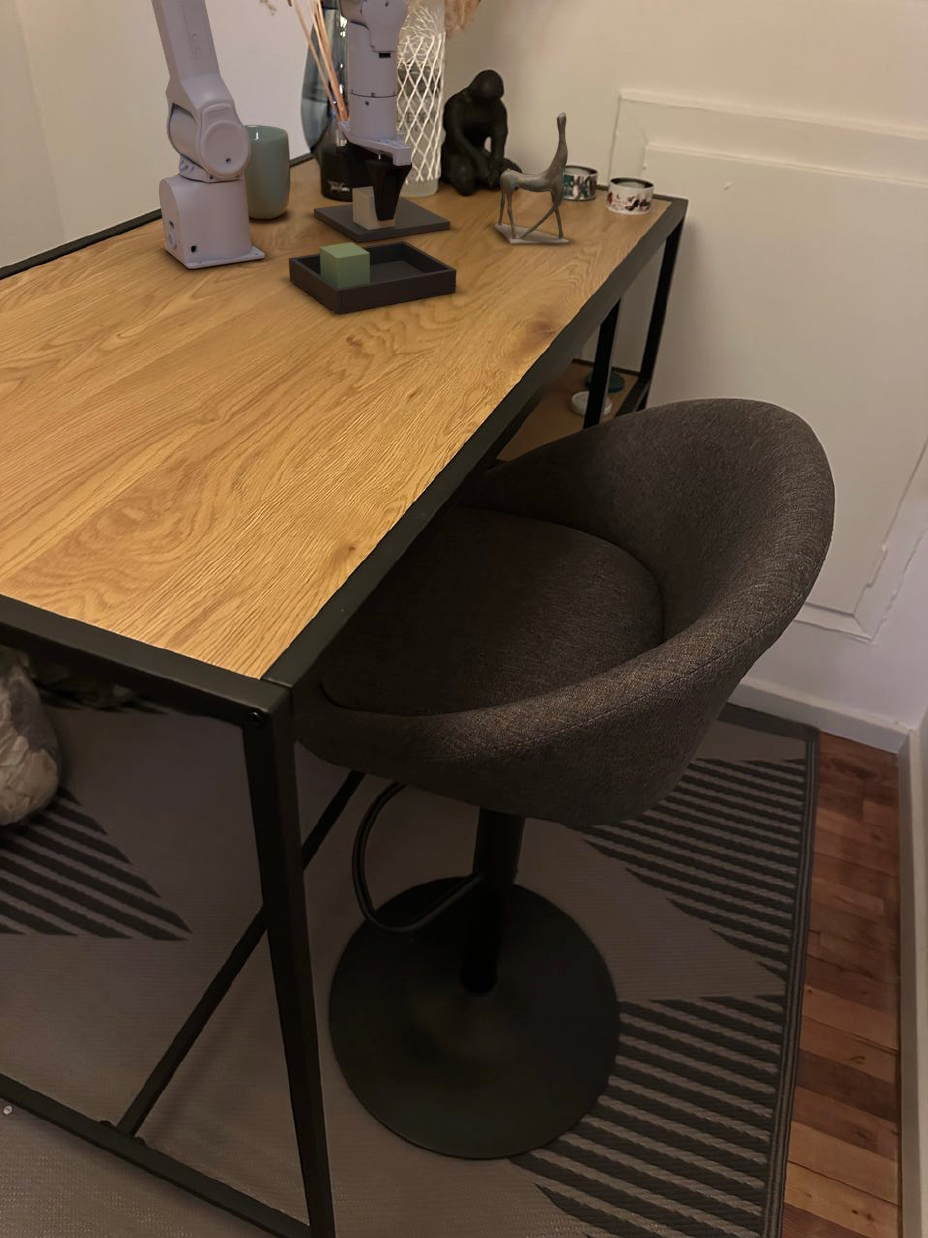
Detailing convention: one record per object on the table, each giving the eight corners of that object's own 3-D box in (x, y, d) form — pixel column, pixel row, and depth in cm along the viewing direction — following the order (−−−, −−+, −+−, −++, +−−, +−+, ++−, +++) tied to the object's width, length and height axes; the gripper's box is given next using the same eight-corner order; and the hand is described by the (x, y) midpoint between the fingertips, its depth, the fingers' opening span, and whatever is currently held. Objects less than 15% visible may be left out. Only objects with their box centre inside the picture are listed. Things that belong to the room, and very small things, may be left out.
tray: (337, 314, 96) (336, 290, 94) (289, 280, 103) (288, 257, 101) (455, 292, 103) (456, 269, 101) (403, 261, 110) (404, 240, 108)
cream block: (368, 230, 115) (368, 196, 113) (352, 221, 118) (352, 188, 115) (395, 226, 117) (395, 193, 114) (379, 217, 119) (379, 185, 117)
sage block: (338, 295, 99) (337, 257, 96) (321, 283, 101) (319, 246, 99) (370, 289, 101) (369, 252, 98) (352, 278, 103) (351, 241, 100)
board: (358, 242, 114) (357, 234, 113) (313, 216, 121) (313, 208, 121) (450, 228, 121) (450, 221, 120) (402, 204, 128) (402, 197, 127)
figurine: (475, 233, 120) (483, 105, 110) (500, 223, 124) (510, 99, 114) (547, 253, 115) (562, 121, 106) (571, 241, 120) (587, 113, 110)
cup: (222, 218, 118) (213, 133, 112) (250, 203, 124) (243, 121, 118) (276, 227, 117) (270, 141, 110) (302, 211, 123) (298, 129, 116)
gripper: (434, 103, 105) (430, 225, 114) (371, 79, 114) (372, 194, 123) (381, 106, 102) (381, 232, 110) (321, 82, 111) (325, 200, 119)
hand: (373, 212), depth 116 cm, fingers open, 5 cm apart
